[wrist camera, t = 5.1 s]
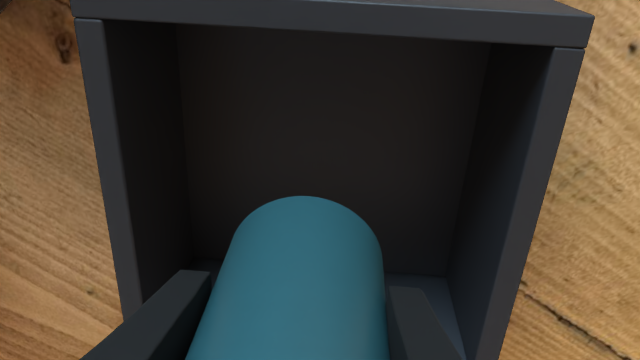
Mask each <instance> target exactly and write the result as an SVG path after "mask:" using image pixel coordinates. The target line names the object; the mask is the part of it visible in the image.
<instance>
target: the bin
mask: <svg viewBox="0 0 640 360" xmlns="http://www.w3.org/2000/svg"><path fill="white" fill-rule="evenodd" d="M70 5H71V11H72V16H73V17H76V18H74V26H75V32H76V38H77V44H78V50H79V56H80V62H81V68H82V74H83V80H84V86H85V92H86V98H87V104H88V110H89V116H90V122H91V128H92V134H93V140H94V146H95V152H96V158H97V164H98V170H99V176H100V182H101V188H102V194H103V200H104V206H105V212H106V218H107V224H108V230H109V236H110V242H111V248H112V254H113V260H114V266H115V272H116V278H117V284H118V290H119V296H120V302H121V308H122V314H123V320H124V321H125V320H126V319H128V318H129V317H130V316H131V315H132V314H133V313H134V312H135V311H136V310H137V309H139V308H140V307H141V306H142V305H143V304H144V303H145V302H146V301H147V300H148V299H149V298H150V297H151V296H153V295H154V294H155V293H156V292H157V291H158V290H159V289H160V288H161V287H162V286H163V285H164V284H165V283H166V282H167V281H169V280H170V279H171V278H172V277H173V276H174V275H175V274H176V273H177V272H179V271H180V270H191V271H204V272H211V285H212V289H213V287H214V284H215V282H216V279H217V277H218V274H219V272H220V269H221V267H222V264H223V262H224V259H225V256H226V254H227V251H228V249H229V246H230V244H231V241H232V239H233V236H234V234H235V232H236V230H237V228H238V227H239V225H240V224H241V223H242V221H243V220H244V219H245V218H246V217H247V216H248V215H249V214H250V213H252V212H253V211H255V210H256V209H257V208H259V207H261V206H263V205H265V204H267V203H269V202H272V201H274V200H277V199H281V198H286V197H293V196H312V197H319V198H323V199H327V200H331V201H333V202H336V203H339V204H341V205H343V206H344V207H346V208H348V209H350V210H351V211H353V212H354V213H356V214H357V215H358V216H359V217H360V218H361V219H362V220H364V221H365V222H366V224H367V225H368V226H369V227H370V228H371V230H372V231H373V233H374V234H375V236H376V238H377V240H378V242H379V245H380V248H381V252H382V259H383V270H384V283H385V296H386V301H387V293H388V286H398V287H411V288H420V289H421V290H422V292H423V293H424V294H425V296H426V298H427V300H428V302H429V304H430V306H431V308H432V309H433V311H434V313H435V315H436V317H437V318H438V320H439V322H440V324H441V325H442V327H443V329H444V330H445V332H446V334H447V335H448V337H449V339H450V340H451V342H452V344H453V345H454V347H455V348H456V350H457V352H458V353H459V355H460V356H461V358H462V359H463V360H498V358H499V355H500V351H501V348H502V344H503V341H504V337H505V334H506V330H507V327H508V323H509V319H510V316H511V312H512V309H513V305H514V302H515V298H516V295H517V291H518V288H519V284H520V280H521V277H522V273H523V270H524V266H525V263H526V259H527V256H528V252H529V249H530V245H531V242H532V238H533V234H534V231H535V227H536V224H537V220H538V217H539V213H540V210H541V206H542V203H543V199H544V195H545V192H546V188H547V185H548V181H549V178H550V174H551V171H552V167H553V164H554V160H555V157H556V153H557V149H558V146H559V142H560V139H561V135H562V132H563V128H564V125H565V121H566V118H567V114H568V110H569V107H570V103H571V100H572V96H573V93H574V89H575V86H576V82H577V79H578V75H579V71H580V68H581V64H582V61H583V57H584V54H585V49H583V48H586V47H587V44H588V40H589V37H590V33H591V30H592V26H593V23H594V19H595V16H594V15H591V14H589V13H586V12H584V11H581V10H578V9H576V8H573V7H570V6H568V5H565V4H562V3H560V2H557V1H554V0H70Z"/></svg>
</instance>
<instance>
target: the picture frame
mask: <svg viewBox="0 0 640 360" xmlns="http://www.w3.org/2000/svg"><path fill="white" fill-rule="evenodd" d="M11 1H12V0H0V14H1V13H2V11H3V10H4V9H5V8H6V7H7V6H8V4H9V3H10V2H11Z"/></svg>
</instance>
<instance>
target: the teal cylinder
mask: <svg viewBox="0 0 640 360" xmlns="http://www.w3.org/2000/svg"><path fill="white" fill-rule="evenodd" d="M185 360H390V351H389V340H388V327H387V314H386V296H385V283H384V270H383V259H382V252H381V248H380V245H379V242H378V240H377V238H376V236H375V234H374V233H373V231H372V230H371V228H370V227H369V226H368V225H367V224H366V222H365V221H364V220H362V219H361V218H360V217H359V216H358V215H357V214H356V213H354V212H353V211H351V210H350V209H348V208H346V207H344V206H343V205H341V204H339V203H336V202H333V201H331V200H327V199H323V198H319V197H312V196H293V197H286V198H281V199H277V200H274V201H272V202H269V203H267V204H265V205H263V206H261V207H259V208H257V209H256V210H255V211H253V212H252V213H250V214H249V215H248V216H247V217H246V218H245V219H244V220H243V221H242V223H241V224H240V225H239V227H238V228H237V230H236V232H235V234H234V236H233V239H232V241H231V244H230V246H229V249H228V251H227V254H226V256H225V259H224V262H223V264H222V267H221V269H220V272H219V274H218V277H217V279H216V282H215V284H214V287H213V289H212V292H211V295H210V297H209V300H208V302H207V305H206V307H205V310H204V312H203V315H202V317H201V320H200V323H199V325H198V328H197V330H196V333H195V335H194V338H193V340H192V343H191V345H190V348H189V350H188V353H187V356H186V358H185Z"/></svg>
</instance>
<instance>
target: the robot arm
mask: <svg viewBox="0 0 640 360" xmlns="http://www.w3.org/2000/svg"><path fill="white" fill-rule="evenodd" d="M211 292H212V285H211V272H204V271H191V270H180V271H179V272H177V273H176V274H175V275H174V276H173V277H172V278H171V279H170V280H169V281H167V282H166V283H165V284H164V285H163V286H162V287H161V288H160V289H159V290H158V291H157V292H156V293H155V294H154V295H153V296H151V297H150V298H149V299H148V300H147V301H146V302H145V303H144V304H143V305H142V306H141V307H140V308H139V309H137V310H136V311H135V312H134V313H133V314H132V315H131V316H130V317H129V318H128V319H126V320H125V321H124V322H123V323H122V324H121V325H120V326H118V327H117V328H116V329H115V330H114V331H113V332H112V333H111V334H109V335H108V336H107V337H106V338H105V339H104V340H103V341H101V342H100V343H99V344H98V345H97V346H96V347H94V348H93V349H92V350H91V351H89V352H88V353H87V354H86V355H84V356H83V357H82V358H81V359H79V360H185V358H186V356H187V353H188V350H189V348H190V345H191V343H192V340H193V338H194V335H195V333H196V330H197V328H198V325H199V323H200V320H201V317H202V315H203V312H204V310H205V307H206V305H207V302H208V300H209V297H210V295H211ZM386 314H387V327H388V340H389V351H390V360H463V359H462V358H461V356H460V355H459V353H458V352H457V350H456V348H455V347H454V345H453V344H452V342H451V340H450V339H449V337H448V335H447V334H446V332H445V330H444V329H443V327H442V325H441V324H440V322H439V320H438V318H437V317H436V315H435V313H434V311H433V309H432V308H431V306H430V304H429V302H428V300H427V298H426V296H425V294H424V293H423V292H422V290H421V289H420V288H411V287H398V286H388V293H387V301H386Z"/></svg>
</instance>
